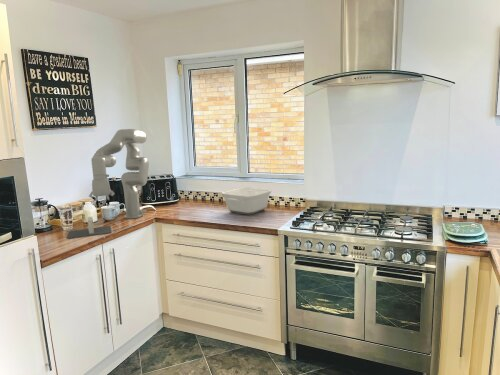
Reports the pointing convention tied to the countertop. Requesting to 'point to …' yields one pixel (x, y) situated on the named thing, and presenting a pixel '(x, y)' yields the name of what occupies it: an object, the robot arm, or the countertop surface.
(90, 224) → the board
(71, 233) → the mat
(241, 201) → the white plastic tub
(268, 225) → the countertop surface
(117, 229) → the countertop surface
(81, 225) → the countertop surface
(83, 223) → the countertop surface
